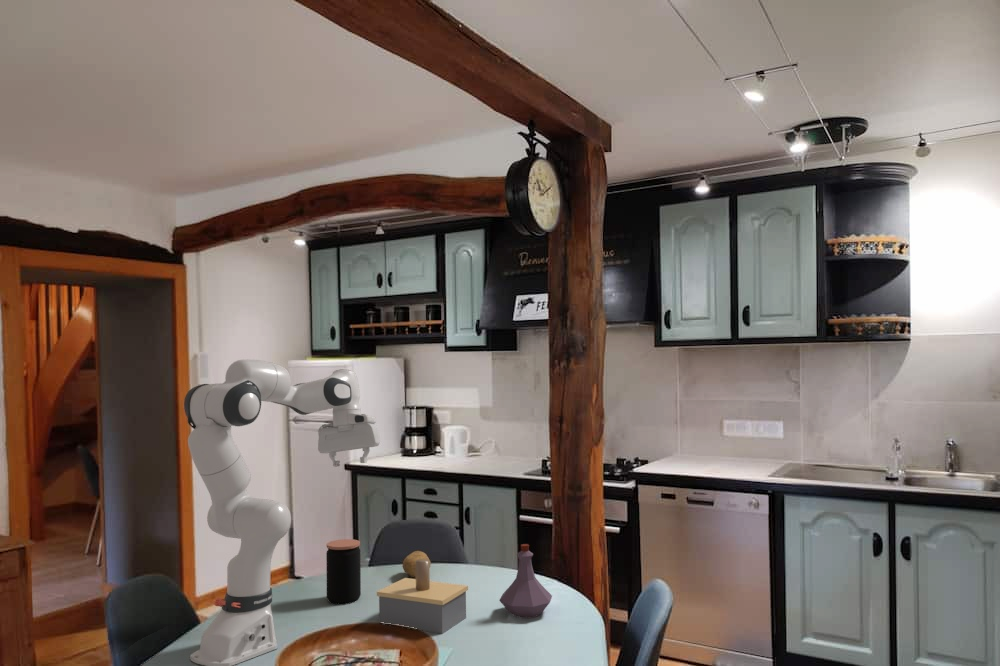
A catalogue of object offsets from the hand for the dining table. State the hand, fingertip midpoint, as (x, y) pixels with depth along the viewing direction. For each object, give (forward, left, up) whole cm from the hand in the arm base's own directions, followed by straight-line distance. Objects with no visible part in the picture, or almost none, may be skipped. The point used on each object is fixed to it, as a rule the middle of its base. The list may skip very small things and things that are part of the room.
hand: (350, 464), depth 227 cm
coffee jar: (+5, +7, -44) cm, 45 cm away
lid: (-2, -27, -37) cm, 46 cm away
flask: (+16, -52, -44) cm, 70 cm away
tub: (-2, -27, -44) cm, 52 cm away
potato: (+36, -1, -44) cm, 57 cm away
